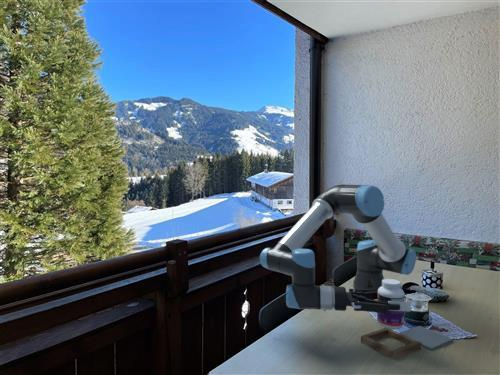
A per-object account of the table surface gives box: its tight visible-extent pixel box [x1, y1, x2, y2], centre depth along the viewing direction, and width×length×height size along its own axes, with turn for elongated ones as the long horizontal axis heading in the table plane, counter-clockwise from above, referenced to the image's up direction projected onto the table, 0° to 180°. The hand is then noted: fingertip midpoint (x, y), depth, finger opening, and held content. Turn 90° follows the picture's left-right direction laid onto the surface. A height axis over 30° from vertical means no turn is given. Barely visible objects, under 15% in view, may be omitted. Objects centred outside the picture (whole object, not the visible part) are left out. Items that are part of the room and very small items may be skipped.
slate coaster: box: [400, 325, 454, 352], centre depth 119 cm, size 12×12×1 cm
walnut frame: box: [359, 327, 422, 361], centre depth 115 cm, size 13×13×2 cm
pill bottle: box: [376, 278, 406, 331], centre depth 114 cm, size 8×8×14 cm
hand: (406, 301), depth 113 cm, fingers closed on pill bottle, 8 cm apart
